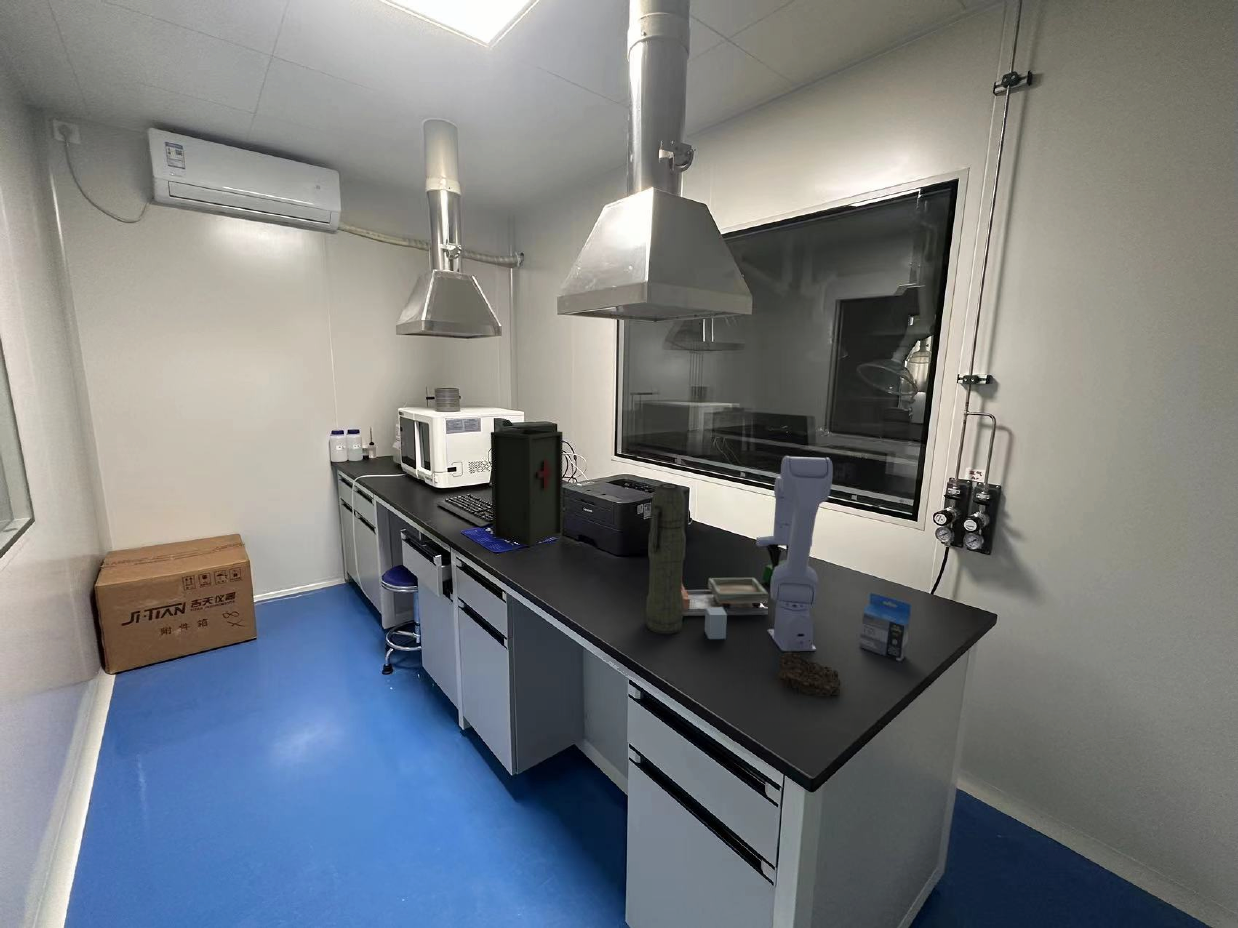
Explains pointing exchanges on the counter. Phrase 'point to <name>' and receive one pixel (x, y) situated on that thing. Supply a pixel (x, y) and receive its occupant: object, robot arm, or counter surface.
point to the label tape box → (885, 627)
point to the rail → (715, 604)
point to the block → (715, 623)
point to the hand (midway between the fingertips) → (781, 571)
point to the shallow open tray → (737, 591)
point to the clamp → (769, 573)
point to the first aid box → (526, 485)
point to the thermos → (666, 559)
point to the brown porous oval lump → (808, 676)
